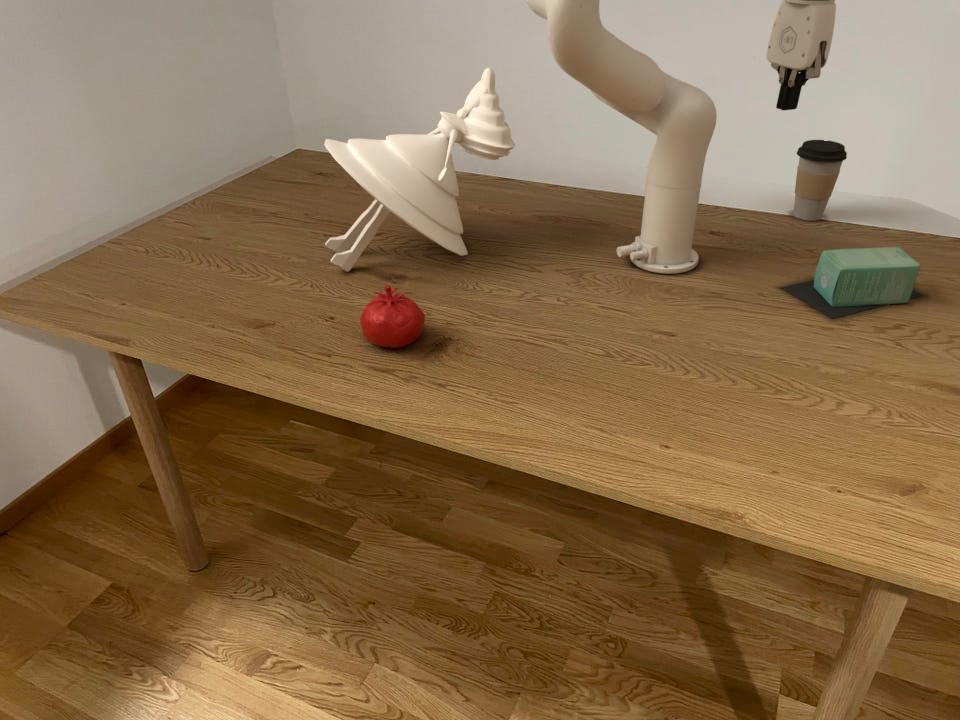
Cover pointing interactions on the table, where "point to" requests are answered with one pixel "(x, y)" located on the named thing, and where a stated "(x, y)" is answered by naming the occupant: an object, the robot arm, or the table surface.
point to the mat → (815, 300)
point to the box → (866, 276)
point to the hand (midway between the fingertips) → (786, 108)
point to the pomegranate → (392, 319)
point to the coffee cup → (816, 177)
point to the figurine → (420, 173)
